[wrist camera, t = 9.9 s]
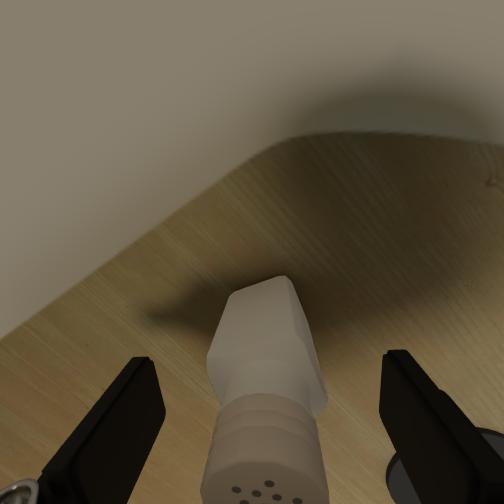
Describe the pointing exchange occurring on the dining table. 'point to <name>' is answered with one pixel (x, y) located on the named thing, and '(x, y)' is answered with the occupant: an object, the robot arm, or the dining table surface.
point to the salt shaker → (265, 402)
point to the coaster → (401, 483)
